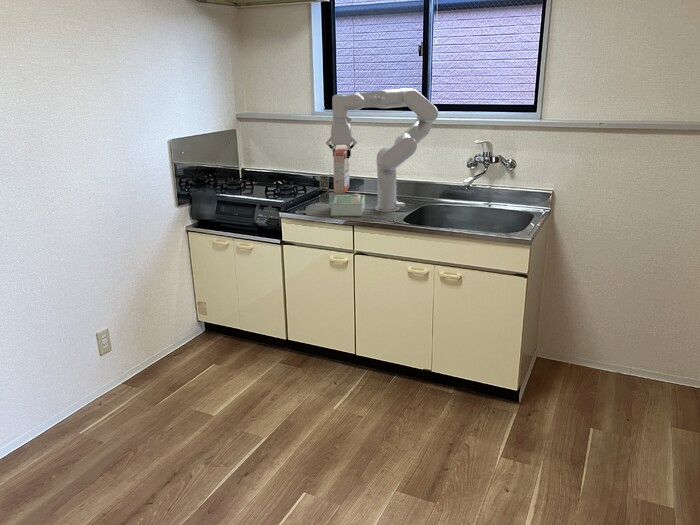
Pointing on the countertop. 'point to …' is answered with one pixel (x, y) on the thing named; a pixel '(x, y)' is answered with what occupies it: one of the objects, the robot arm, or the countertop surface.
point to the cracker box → (341, 170)
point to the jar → (355, 198)
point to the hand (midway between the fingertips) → (341, 157)
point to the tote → (347, 206)
